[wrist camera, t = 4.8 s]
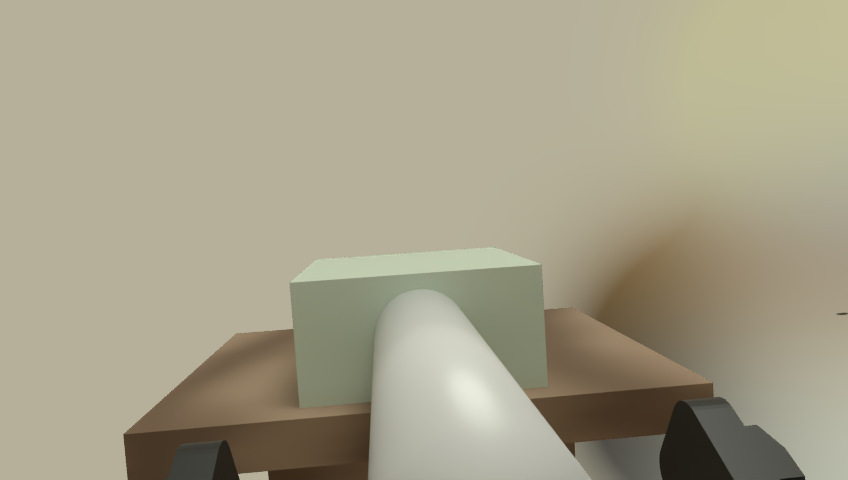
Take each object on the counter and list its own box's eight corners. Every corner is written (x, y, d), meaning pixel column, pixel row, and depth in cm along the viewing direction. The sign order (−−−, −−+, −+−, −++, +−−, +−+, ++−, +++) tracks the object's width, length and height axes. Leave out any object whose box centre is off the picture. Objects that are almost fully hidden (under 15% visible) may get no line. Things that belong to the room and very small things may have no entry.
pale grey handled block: (499, 334, 28) (494, 247, 27) (807, 668, 8) (799, 359, 7) (323, 348, 27) (316, 259, 27) (166, 746, 7) (134, 416, 7)
